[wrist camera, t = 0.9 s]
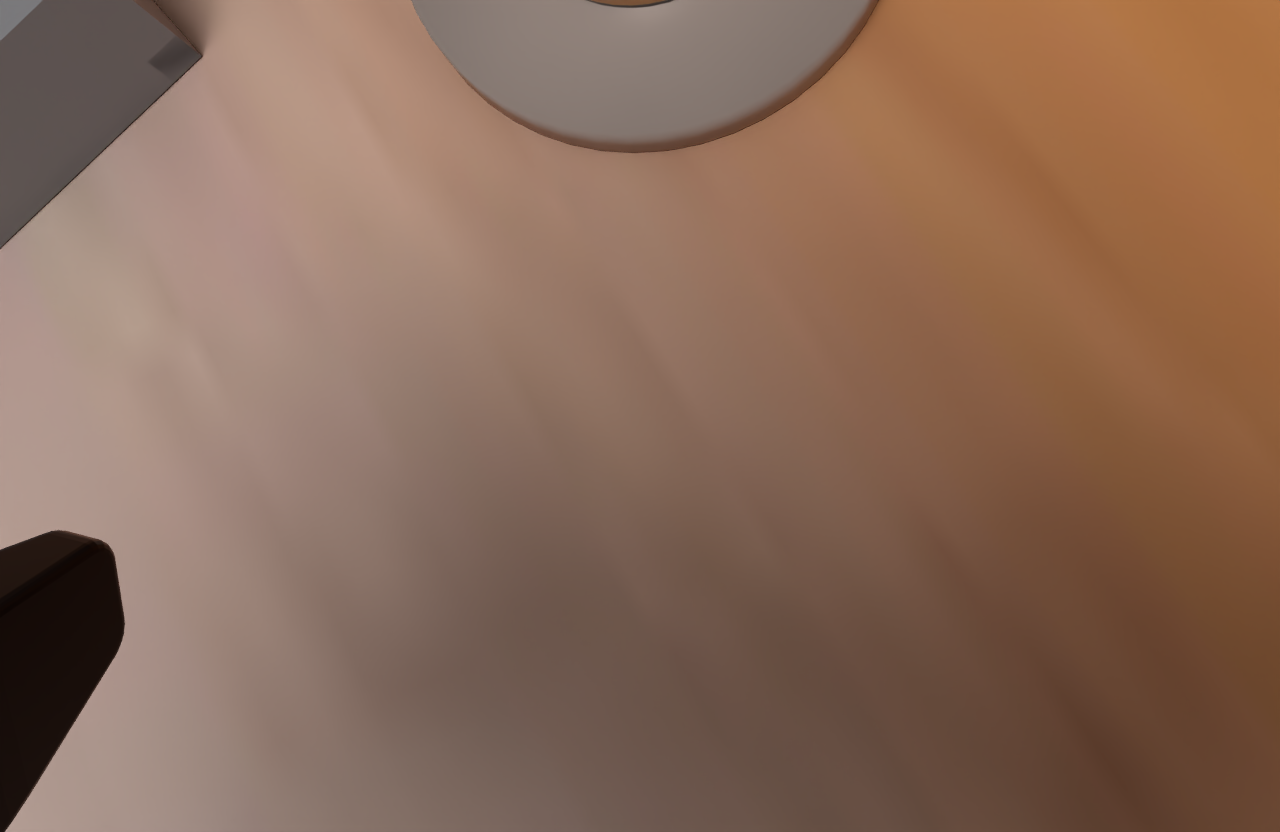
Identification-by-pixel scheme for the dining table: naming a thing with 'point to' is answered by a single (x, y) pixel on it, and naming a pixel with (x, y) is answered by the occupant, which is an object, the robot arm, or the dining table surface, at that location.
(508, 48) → the pad
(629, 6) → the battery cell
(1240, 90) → the dining table surface
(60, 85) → the dish
